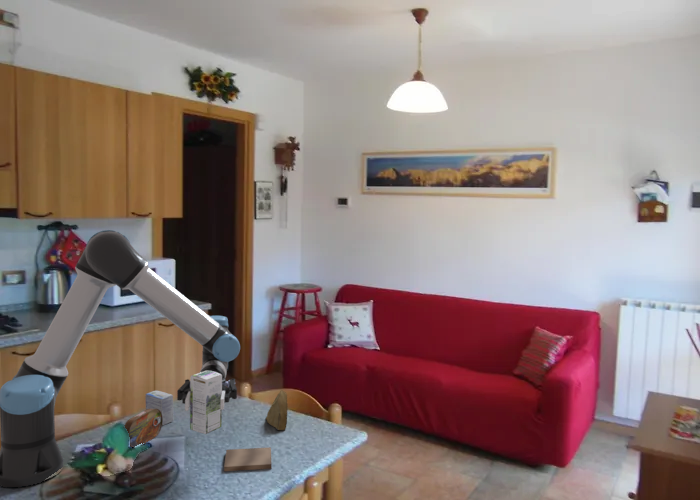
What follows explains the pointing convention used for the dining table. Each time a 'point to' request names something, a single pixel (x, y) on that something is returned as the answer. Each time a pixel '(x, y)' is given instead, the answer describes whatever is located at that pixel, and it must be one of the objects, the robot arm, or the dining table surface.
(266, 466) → the walnut board
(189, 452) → the dining table surface
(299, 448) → the dining table surface
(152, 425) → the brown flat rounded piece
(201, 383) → the syrup box
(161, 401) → the medicine box
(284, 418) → the rock
